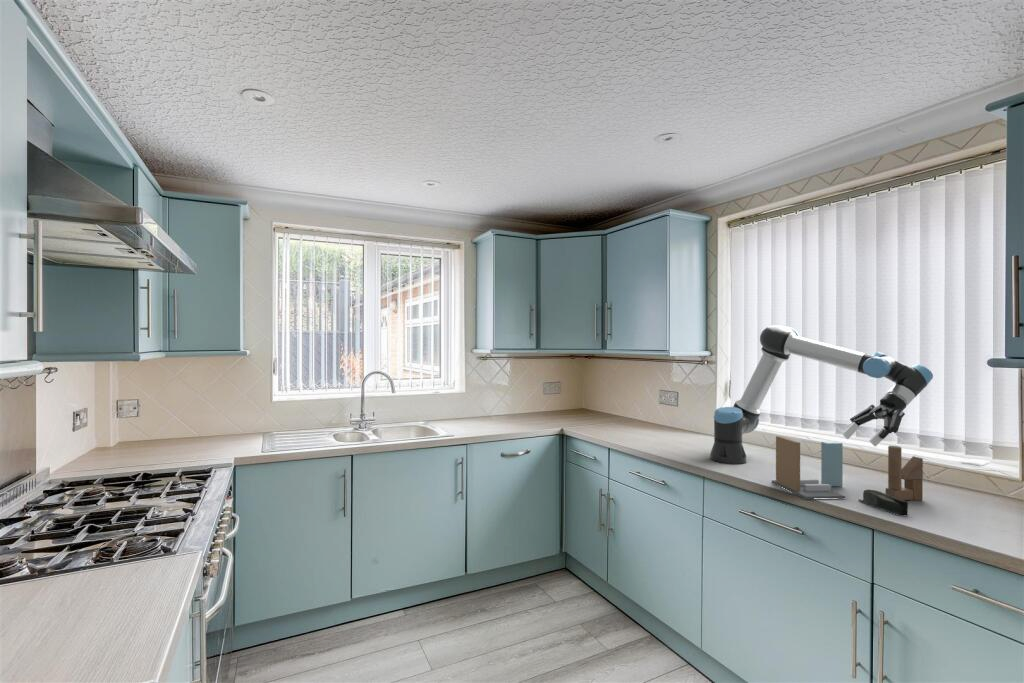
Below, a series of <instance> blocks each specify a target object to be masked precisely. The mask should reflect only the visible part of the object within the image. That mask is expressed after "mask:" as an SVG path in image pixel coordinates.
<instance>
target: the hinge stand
mask: <svg viewBox="0 0 1024 683" xmlns="http://www.w3.org/2000/svg"><path fill="white" fill-rule="evenodd" d="M773 483H774V484H773ZM771 484H773V485H775V484H776V485H775V486H777V485H778V486H777V487H779V486H780V487H779V488H781V487H783V488H785V489H787V490H789V491H791V492H792V493H791V492H790V493H791V494H794V495H796V496H798V497H800V498H803V499H804V500H815V499H814V498H847V497H846V496H847V495H844V494H841V493H839V492H837V491H834V490H832V487H831V485H829V484H821V483H820V482H819V479H817V478H801V442H800V441H797V440H793V439H790V438H787V437H784V436H780V435H776V436H775V480H774V479H773V480H771ZM783 488H782V489H783ZM785 489H784V490H785ZM787 490H786V491H787ZM789 491H788V492H789Z"/></svg>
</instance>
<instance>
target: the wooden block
mask: <svg viewBox="0 0 1024 683" xmlns="http://www.w3.org/2000/svg"><path fill="white" fill-rule="evenodd" d="M887 449H888V450H887V452H888V453H887V460H888V461H887V462H888V464H887V474H888V475H887V476H888V477H887V480H888V482H887V484H888V485H887V486H888V487H885V494H887V495H890V496H893V497H895V498H898V499H901V500H903V501H905V500H912V501H913V500H918V501H923V500H924V499H923V497H924V496H923V494H924V493H923V490H924V489H923V482H924V481H923V479H924V474H923V473H924V468H923V467H924V465H923V464H924V462H923V461H924V459H923V458H922V457H919V456H918V457H917V456H913V455H912V457H911V458H910V459H909V460H908V461H907V463H906V464H905V465H904V466H903V467H902V447H901V446H900V445H899V446H898V445H888V447H887ZM902 480H903V481H904V483H903V484H904V487H902Z"/></svg>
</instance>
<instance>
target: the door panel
mask: <svg viewBox="0 0 1024 683" xmlns="http://www.w3.org/2000/svg"><path fill="white" fill-rule="evenodd" d="M820 446H821V450H820V452H821V456H820V458H821V459H820V461H821V462H820V463H821V464H820V465H821V466H820V467H821V468H820V469H821V472H820V473H821V476H820V477H821V478H820V480H821V483H820V484H829V485H831V486H843V480H844V479H843V474H844V473H843V465H844V464H843V461H844V460H843V456H844V455H843V454H844V453H843V448H844V447H843V443H842V442H839V441H821V445H820Z"/></svg>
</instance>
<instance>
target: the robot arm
mask: <svg viewBox="0 0 1024 683" xmlns="http://www.w3.org/2000/svg"><path fill="white" fill-rule="evenodd" d="M759 342H760V345H761V346H762V347H761V348H760V350H761V352H762V355H761V357H760V359H759V362H758V364H757V366H756V367H755V370H754V372H753V374H752V376H751V378H750V380H749V382H748V384H747V386H746V388H745V390H744V392H743V395H741V398H740V399H738V400H736V401H734V405H733V406H724V407H719V408H716V409H715V410H714V414H713V415H714V416H713V422H714V424H713V426H714V427H713V428H714V429H713V430H714V432H713V434H714V436H713V437H714V440H713V441H714V442H713V445H712V447H711V451H710V453H709V454H710V455H709V459H710V460H711V461H713V460H714V461H713V462H716V461H717V462H718V463H721V462H723V463H722V464H729V463H732V464H731V465H739V464H740V465H741V464H745V463H747V455H746V451H745V449H744V445H743V435H744V434H745V435H746V434H749V433H752V432H753V431H754V430H756V429H757V428H758V426H759V424H760V416H761V409H760V407H761V406H762V403H763V401H764V400H765V397H766V395H767V393H768V391H769V390H770V388H771V385H772V383H773V382H774V380H775V378H776V376H777V374H778V371H779V370H780V368H781V367H782V364H783V363H784V362H786V361H788V360H789V359H790V357H791V355H795V356H799V357H801V358H806V359H808V360H809V359H810V360H813V361H816V362H817V361H818V362H821V363H823V364H828V365H831V366H834V367H839V368H843V369H845V370H849V371H853V372H857V373H860V374H864V375H867V376H868V377H870V378H874V379H881V378H885V379H888V380H890V381H891V382H893V383H895V384H894V385H892V387H891V388H890V389H889V390H887V392H886V393H885V394H884V395H883V396H882V397H881V398H880V400H879V405H877V406H875V405H874V404H870V405H869V406H868V407H867V408H866V409H864V410H862V411H860V412H858V413H857V414H856V415H854V416H852V417H851V418H849V421H850V422H851V423H850V424H849V425H848V426H847V428H846V429H845V430H844V431H843V432H842V433H841V435H842V436H843V437H844V438H845V439H846V440H849V439H850V438H851V437H852V436H853V435H854V434H855V433H856V431H857V430H859V429H860V426H862V425H864V424H867V423H869V422H871V421H873V420H878V419H880V420H883V426H882V427H880V429H879V430H878V431H877V432H876V433H875V434H874V435H873V436H872V437H871V438H870V439H869V442H870V443H871V445H873V446H874V447H877V446H878V445H879V444H880V443H881V442H882V440H885V438H886V437H887V436H888V435H889V434H892V433H894V434H897V433H898V431H899V428H900V425H901V421H902V419H903V417H904V416H905V412H904V410H905V409H906V408H907V406H908V405H909V404H910V403H911V402H912V401H913V400H914V399H915V398H916V397H917V396H918V395H919V394H921V392H922V391H923V390H924V389H925V388H926V387H927V386H928V385H929V383H930V382H931V381H932V380H933V379H934V374H933V372H932V371H931V370H930V369H929V368H928V367H926V366H924V365H920V364H913V365H912V366H909V365H906V364H904V363H902V362H900V361H898V360H896V359H894V358H893V357H891V356H889V355H888V354H886V353H883V352H881V351H876V352H874V353H873V354H869V353H864V352H860V351H856V350H853V349H850V348H845V347H842V346H837V345H834V344H829V343H825V342H821V341H818V340H813V339H810V338H806V337H803V336H801V335H800V334H799V332H798V331H797V329H795V328H793V327H790V326H787V325H777V324H775V325H769V326H767V327H765V328H764V329H763V330H762V331H761V333H760V336H759Z"/></svg>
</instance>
